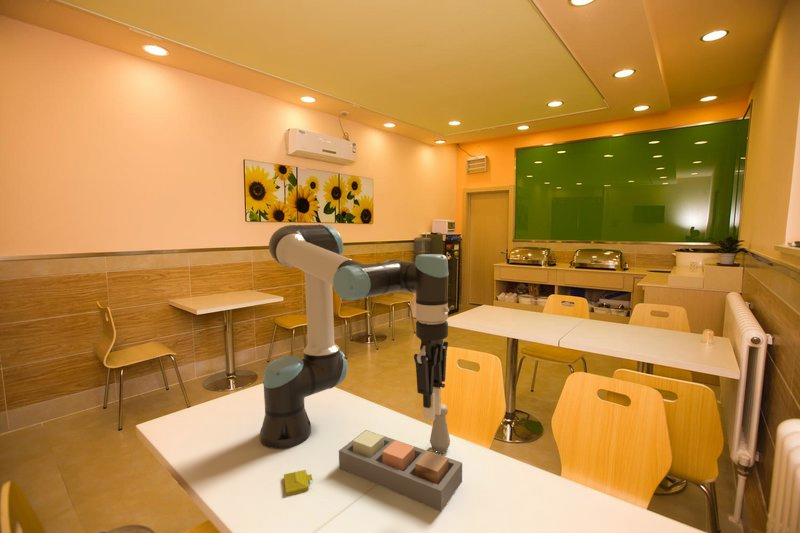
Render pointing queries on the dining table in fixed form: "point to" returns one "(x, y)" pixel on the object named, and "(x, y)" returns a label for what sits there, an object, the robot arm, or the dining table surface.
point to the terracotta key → (398, 455)
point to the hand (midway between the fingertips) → (431, 415)
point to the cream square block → (368, 444)
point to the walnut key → (431, 467)
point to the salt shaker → (440, 431)
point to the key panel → (402, 475)
